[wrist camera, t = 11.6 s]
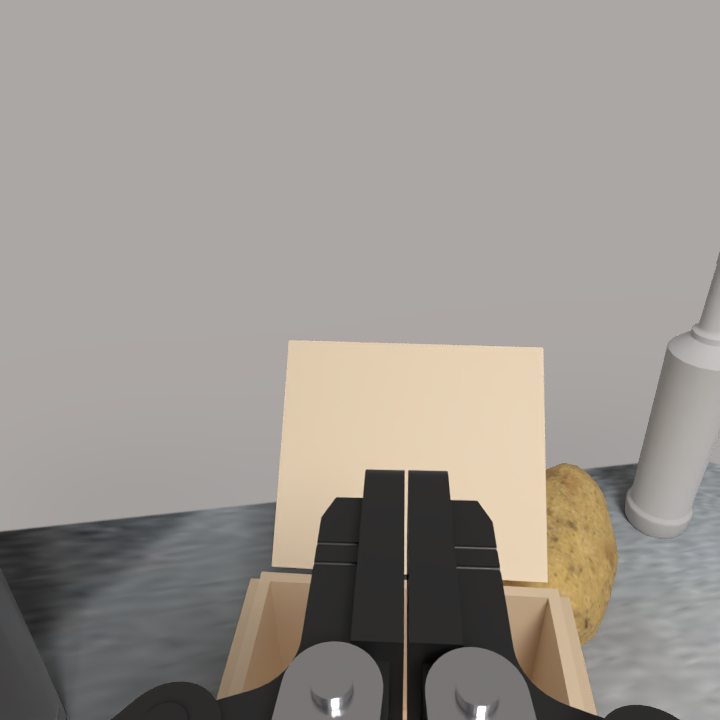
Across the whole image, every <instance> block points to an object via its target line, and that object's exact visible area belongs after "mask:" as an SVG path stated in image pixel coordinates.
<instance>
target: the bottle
mask: <svg viewBox="0 0 720 720" xmlns="http://www.w3.org/2000/svg"><path fill="white" fill-rule="evenodd" d="M719 434H720V253H719V256H718V260H717V266H716V270H715V273H714V276H713V280H712V283H711V286H710V290H709V293H708V296H707V299H706V303H705V306H704V309H703V313H702V316H701V319H700V322H699V323H698V324H695V325H694V326H693V327H692V330H691V331H689V332H686V333H684V334H681V335H679V336H676V337H674V338H673V339H672V340H670V341H669V342H668V346H667V350H666V354H665V358H664V362H663V366H662V370H661V374H660V378H659V382H658V386H657V390H656V394H655V398H654V402H653V406H652V410H651V414H650V418H649V422H648V426H647V430H646V434H645V439H644V443H643V447H642V451H641V454H640V458H639V462H638V466H637V471H636V475H635V479H634V483H633V486H632V487H631V488H630V489H629V490H628V491H627V496H626V503H625V514H626V516H627V518H628V520H629V522H630V523H631V524H632V525H633V526H634V527H635V528H636V529H637V530H639V531H641V532H643V533H645V534H646V535H649V536H652V537H656V538H660V539H661V538H674V537H676V536H679V535H680V534H682V532H683V531H684V530H685V528H686V527H687V526H688V524H689V523H690V520H691V518H692V515H693V511H692V504H693V502H694V499H695V496H696V494H697V491H698V488H699V486H700V483H701V481H702V478H703V475H704V473H705V470H706V468H707V465H708V462H709V460H710V457H711V454H712V452H713V449H714V447H715V444H716V441H717V439H718V436H719Z"/></svg>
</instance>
